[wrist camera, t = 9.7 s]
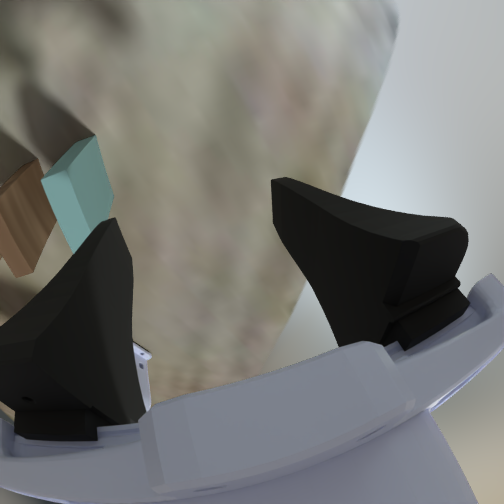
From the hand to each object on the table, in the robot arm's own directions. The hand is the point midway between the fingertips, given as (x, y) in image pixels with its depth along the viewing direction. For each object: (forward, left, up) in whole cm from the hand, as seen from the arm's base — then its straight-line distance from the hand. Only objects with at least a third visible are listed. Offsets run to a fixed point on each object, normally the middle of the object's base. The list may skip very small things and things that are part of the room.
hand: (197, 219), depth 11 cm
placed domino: (+2, +6, -10) cm, 12 cm away
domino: (+4, +11, -10) cm, 16 cm away
